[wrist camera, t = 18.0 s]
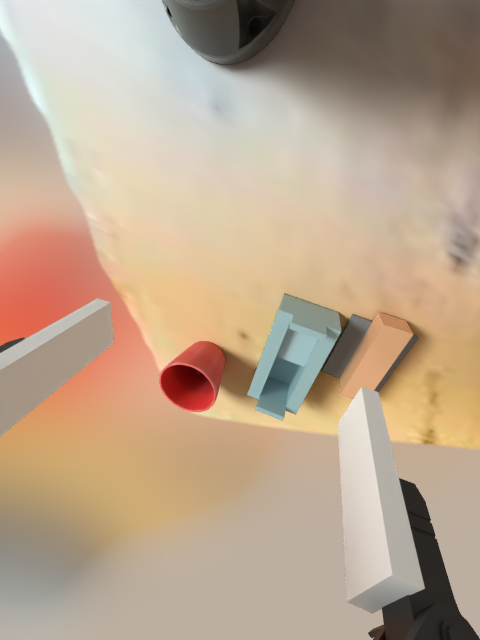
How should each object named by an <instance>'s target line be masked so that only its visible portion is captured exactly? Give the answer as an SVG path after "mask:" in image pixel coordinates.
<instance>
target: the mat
mask: <svg viewBox="0 0 480 640" xmlns="http://www.w3.org/2000/svg"><path fill="white" fill-rule="evenodd" d="M372 322H373V321H372V320H369V319H366V318H363V317H360V316H357V315H355V314H352V316H351V318H350V320H349V322H348V323H347V325H346V327H345V329H344V331H343V332H342V334H341V336H340V338H339V340H338V341H337V343H336V345H335V347H334V349H333V351H332V352H331V354H330V356H329V358H328V360H327V361H326V363H325V365H324V367H323V369H322V372H324V373H327V374H330V375H332V376H335V377H338V378H340V376H341V375H342V373H343V371H344V370H345V368H346V366H347V364H348V363H349V361H350V359H351V358H352V356H353V354H354V352H355V351H356V349H357V347H358V346H359V344H360V342H361V341H362V339H363V337H364V335H365V334H366V332H367V330H368V329H369V327H370V325H371V323H372ZM418 339H419V338H418V336H416V335H413V336H412V337H411V339H410V340H409V342H408V343H407V344H406V346H405V347H404V349H403V350H402V351H401V353H400V354H399V356H398V357H397V359H396V360H395V361H394V363H393V364H392V366H391V367H390V368H389V370H388V371H387V373H386V374H385V376H384V377H383V378H382V380H381V381H380V383H379V384H378V385H377V387H376V388H375V390H374V391H376V392H379V390H380V389H381V388H382V386H383V385H384V384H385V382H386V381H387V380H388V378H389V377H390V376H391V374H392V373H393V372H394V370H395V369H396V368H397V366H398V365H399V364H400V362H401V361H402V360H403V359H404V357H405V356H406V355H407V353H408V352H409V351H410V349H411V348H412V347H413V345H414V344H415V343H416V341H417V340H418Z"/></svg>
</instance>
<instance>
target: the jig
mask: <svg viewBox="0 0 480 640" xmlns="http://www.w3.org/2000/svg"><path fill="white" fill-rule="evenodd" d="M340 333H341V326H340V317H339V312H337V311H334V310H331V309H328V308H325V307H322V306H319V305H316V304H314V303H311V302H308V301H305V300H302V299H299V298H296V297H293V296H290V295H288V294H284V296H283V299H282V302H281V304H280V307H279V310H278V312H277V315H276V318H275V320H274V323H273V326H272V328H271V331H270V334H269V337H268V339H267V342H266V345H265V347H264V350H263V353H262V355H261V358H260V361H259V363H258V366H257V369H256V371H255V374H254V377H253V380H252V383H251V386H250V388H249V391H248V394H247V395H248V396H251V397H253V398H256V399H258V402H257V406H256V409H255V410H257V411H260V412H262V413H265V414H267V415H269V416H272V417H274V418H277V419H279V420H283V419H284V415H285V410H286V411H288V412H291V413H293V414H296V413H297V411H298V409H299V408H300V406H301V404H302V402H303V400H304V399H305V397H306V395H307V393H308V391H309V389H310V388H311V386H312V384H313V382H314V380H315V379H316V377H317V375H318V373H319V371H320V369H321V368H322V366H323V364H324V362H325V360H326V358H327V357H328V355H329V353H330V351H331V349H332V348H333V346H334V344H335V342H336V340H337V338H338V337H339V335H340Z"/></svg>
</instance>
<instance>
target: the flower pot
mask: <svg viewBox="0 0 480 640" xmlns="http://www.w3.org/2000/svg"><path fill="white" fill-rule="evenodd" d="M224 366H225V357H224V354H223V352H222V351H221V349H220V348H219V347H218V346H216V345H215V344H213V343H211V342H207V341H200V342H197V343H195V344H193V345H192V346H190V347H189V348H188V349H186V350H185V351H184V352H183V353H181V354H180V355H179V356H178V357H176V358H175V359H174V360H173V361H172V362H171V363H169V364H168V365H167V366H166V367H165V368H164V369H163V370H162V372H161V374H160V378H159V381H160V387H161V390H162V392H163V393H164V395H165V396H166V397H167V398H168V399H169V400H170V401H171V402H172V403H173V404H175V405H176V406H178V407H180V408H182V409H184V410H187V411H192V412H202V411H205V410H207V409H209V408H210V407H212V405H213V404H214V403H215V401H216V398H217V394H218V391H219V387H220V383H221V379H222V374H223V370H224Z"/></svg>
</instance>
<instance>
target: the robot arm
mask: <svg viewBox="0 0 480 640" xmlns="http://www.w3.org/2000/svg"><path fill="white" fill-rule="evenodd" d="M293 1H294V0H162V2H163V5H164V8H165V10H166V12H167V15H168V17H169V19H170V21H171V22H172V24H173V26H174V28H175V29H176V31H177V32H178V34H179V35H180V36H181V37H182V39H183V40H184V41H185V42H186V43H187V44H188V45H189V46H190V47H191V48H192V49H193V50H194V51H195V52H196V53H197V54H199V55H200V56H202V57H203V58H205V59H207V60H209V61H211V62H214V63H218V64H236V63H240V62H243V61H245V60H247V59H249V58H251V57H253V56H254V55H256V54H257V53H258V52H260V51H261V50H262V49H263V48H264V47H265V46H266V45H267V44H268V43H269V42H270V41H271V40H272V39H273V38H274V36H275V35H276V34H277V32H278V31H279V29H280V28H281V26H282V24H283V23H284V21H285V19H286V17H287V15H288V13H289V11H290V9H291V6H292V4H293ZM112 344H114V336H113V325H112V315H111V305H110V302H107V301H104V300H101V299H98V298H97V299H95V300H94V301H92V302H90V303H88V304H87V305H85V306H83V307H81V308H80V309H78V310H76V311H74V312H72V313H71V314H69V315H67V316H65V317H64V318H62V319H60V320H58V321H57V322H55V323H53V324H51V325H50V326H48V327H46V328H44V329H42V330H41V331H39V332H37V333H35V334H34V335H32V336H30V337H28V338H26V339H25V338H20V339H17V340H14V341H10V342H7V343H5V344H4V345H2V346H0V436H1V435H3V434H4V433H5V432H6V431H8V430H9V429H10V428H11V427H12V426H14V425H15V424H16V423H17V422H18V421H19V420H21V419H22V418H23V417H25V416H26V415H27V414H28V413H29V412H31V411H32V410H33V409H34V408H35V407H37V406H38V405H39V404H40V403H42V402H43V401H44V400H45V399H47V398H48V397H49V396H50V395H51V394H52V393H54V392H55V391H56V390H58V389H59V388H60V387H61V386H62V385H64V384H65V383H66V382H67V381H68V380H70V379H71V378H72V377H73V376H75V375H76V374H77V373H78V372H80V371H81V370H82V369H83V368H84V367H86V366H87V365H88V364H89V363H91V362H92V361H93V360H94V359H95V358H97V357H98V356H99V355H100V354H101V353H103V352H104V351H105V350H106V349H108V348H109V347H110V346H111V345H112ZM338 432H339V452H340V473H341V494H342V515H343V535H344V556H345V577H346V597H347V602H348V603H351V604H353V605H355V606H357V607H359V608H362V609H364V610H366V611H368V612H370V613H374V612H376V611H378V610H380V609H382V612H383V620H384V625H381V626H379V627H377V628H374V629H373V630H371V631H370V632H369V633H368V634H369V635H370V637H371V638H373V637H374V639H373V640H480V639H479V637H478V635H477V634H476V632H475V631H474V630H473V628H472V627H471V625H470V624H469V623H468V621H467V620H466V619H465V618H464V617H462V616H461V614H460V612H459V610H458V607H457V604H456V602H455V599H454V596H453V593H452V589H451V586H450V583H449V579H448V576H447V573H446V569H445V566H444V562H443V559H442V556H441V553H440V549H439V546H438V542H437V539H435V533H434V529H433V526H432V524H431V523H430V520H431V519H430V516H429V512H428V509H427V506H426V502H425V500H424V499H423V497H422V495H421V494H420V492H419V490H418V489H417V487H416V485H415V484H413V483H411V482H408V481H405V480H403V479H400V478H399V477H398V473H397V468H396V464H395V460H394V456H393V452H392V447H391V443H390V439H389V435H388V430H387V426H386V422H385V418H384V413H383V409H382V405H381V401H380V397H379V392H376V391H373V390H370V389H367V388H364V387H361V388H360V390H359V391H358V393H357V394H356V396H355V398H354V399H353V401H352V402H351V404H350V405H349V407H348V409H347V410H346V412H345V413H344V415H343V416H342V418H341V420H340V421H339V423H338Z"/></svg>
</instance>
